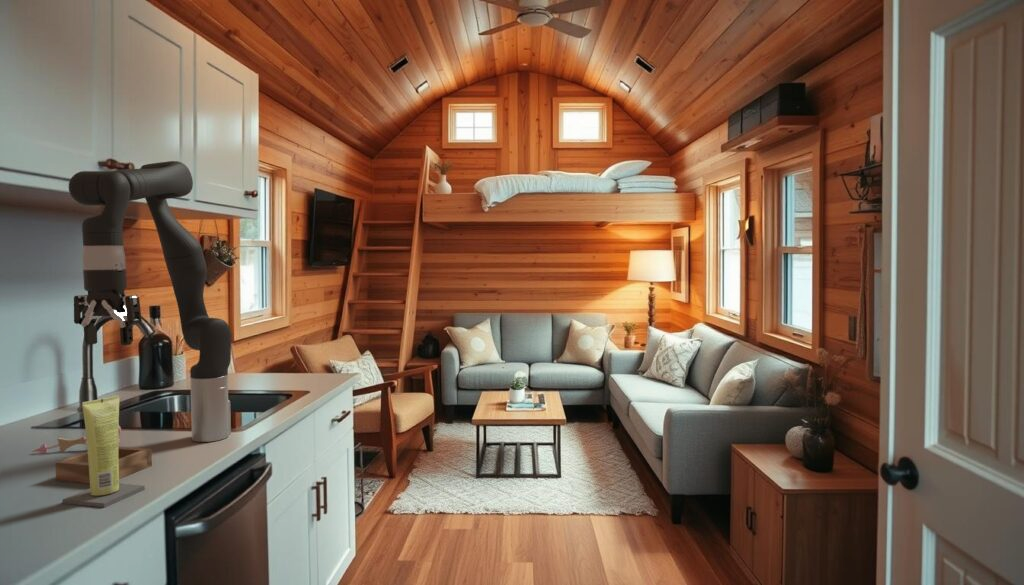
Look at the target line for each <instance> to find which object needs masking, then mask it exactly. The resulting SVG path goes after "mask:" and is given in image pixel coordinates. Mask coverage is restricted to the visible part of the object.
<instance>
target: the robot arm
mask: <svg viewBox="0 0 1024 585" xmlns="http://www.w3.org/2000/svg"><path fill="white" fill-rule="evenodd" d="M193 184H194V181H193V175H192V173H191V171H190V169H189V167H188V166H187V165H186V164H185V163H183V162H181V161H179V160H178V161H177V160H170V161H160V162H154V163H153V162H152V163H147V164H143V165H141V166H140V168H125V169H123V168H122V169H115V170H109V171H108V170H99V171H97V170H96V171H95V170H93V171H91V170H83V171H79V172H76V173H75V174H74V175H72V177H71V178H70V180H69V181H68V192H69V194H70V196H71V197H72V198H73V200H74V201H75V202H77V203H78V204H81V205H84V206H104V208H103V210H102V211H101V213H100V214H99V215H96V216H91V217H87V218H84V219H83V221H82V224H81V229H82V230H81V232H82V256H81V257H82V258H81V259H82V273H83V274H82V277H83V289H84V290H85V291H86V292H87V294H82V295H74V297H73V322H74V323H75V324H76V325H81V327H83V336H84V337H83V340H84V342H85V344H86V345H96V344H98V331H97V325H96V324H97V323H98V322H99V319H101V318H102V317H111V318H112V319H113V320H115V321H116V322H117V323H118V325H119V326H120V327H119V337H120V339H119V340H120V346H123V347H125V346H130V345H132V343H133V341H134V331H133V330H134V329H133V328H134V326H135V325H139V324H141V323H142V321H143V320H142V310H141V304H140V302H141V301H140V296H139V295H137V294H135V295H133V294H132V295H127V296H126V293H125V291H126V289H127V288H128V283H127V282H128V280H127V263H126V254H125V249H124V232H123V231H124V230H123V226H124V222H125V221H124V220H125V217H126V212H127V208H128V205H129V202H132V201H138V200H141V199H145V201H146V203H147V204H146V205H147V207H148V210H149V212H150V215H151V217H152V219H153V222H154V225H155V229H156V231H157V235H158V238H159V241H160V246H161V250H162V254H163V258H164V261H165V265H166V269H167V273H168V275H169V279H170V281H171V285H172V288H173V293H174V297H175V300H176V303H177V308H178V313H179V321H180V326H181V332H182V333H181V334H182V336H183V340H184V342H185V344H186V345H187V346H188V347H189V348H190V349H192V350H195V351H199V356H198V357H199V358H198V362H197V363H196V364H194V365H192V366H191V367H190V371H189V375H190V409H191V410H190V412H191V413H190V414H191V418H190V421H191V440H192V441H193V442H198V443H207V442H215V441H220V440H224V439H227V438H228V437H230V435H231V434H232V425H231V424H232V422H231V421H232V419H231V418H232V417H231V401H230V400H229V380H228V378H229V377H228V375H229V374H228V373H229V372H228V370H229V368H230V364H231V360H232V356H231V355H232V332H231V329H230V326H229V324H228V323H227V321H225V320H224V319H222V318H217V317H209V314H208V310H207V307H206V304H205V300H204V299H205V297H204V291H205V286H206V281H207V275H208V274H207V273H208V272H207V271H208V267H207V263H206V258H205V255H204V252H203V247H202V245H201V243H200V242H199V241H198V239H196V237H195V236H194V235H193V234H192V233H191V232H190V231H189V230H188V229H187V228H185V227H184V226H183V224H181V223H180V222H179V220H177V218H176V217H175V216H174V214H173V213H172V211H171V210H172V209H171V208H170V206H169V204H168V201H167V200H169V199H176V198H182V197H185V196H187V195H189V194H190V193H191V192H192V190H193V186H194V185H193Z"/></svg>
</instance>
